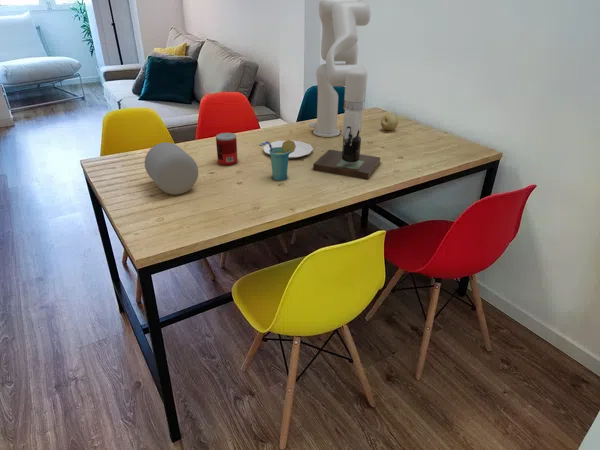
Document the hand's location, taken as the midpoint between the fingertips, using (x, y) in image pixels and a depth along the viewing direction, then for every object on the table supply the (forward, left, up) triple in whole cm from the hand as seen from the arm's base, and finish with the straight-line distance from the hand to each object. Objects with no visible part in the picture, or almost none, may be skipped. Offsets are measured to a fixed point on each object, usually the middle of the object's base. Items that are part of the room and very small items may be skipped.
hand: (351, 151), depth 171 cm
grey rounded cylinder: (-56, -41, -8) cm, 70 cm away
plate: (-30, +8, -8) cm, 32 cm away
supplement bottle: (0, 0, -3) cm, 3 cm away
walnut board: (-2, +3, -8) cm, 8 cm away
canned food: (-47, -13, -8) cm, 49 cm away
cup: (-22, -19, -8) cm, 30 cm away
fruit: (+2, +56, -8) cm, 56 cm away
